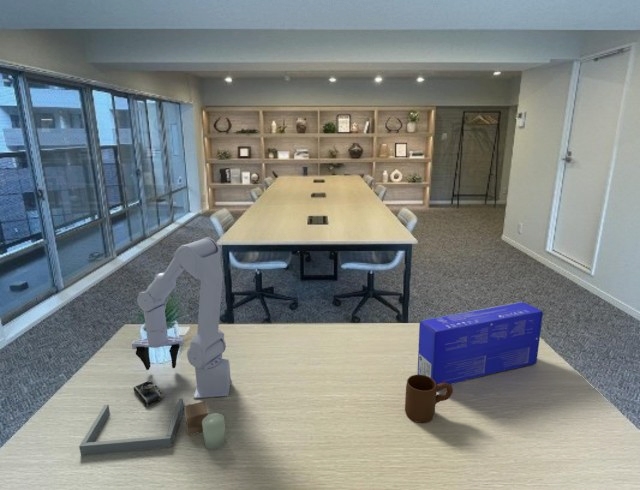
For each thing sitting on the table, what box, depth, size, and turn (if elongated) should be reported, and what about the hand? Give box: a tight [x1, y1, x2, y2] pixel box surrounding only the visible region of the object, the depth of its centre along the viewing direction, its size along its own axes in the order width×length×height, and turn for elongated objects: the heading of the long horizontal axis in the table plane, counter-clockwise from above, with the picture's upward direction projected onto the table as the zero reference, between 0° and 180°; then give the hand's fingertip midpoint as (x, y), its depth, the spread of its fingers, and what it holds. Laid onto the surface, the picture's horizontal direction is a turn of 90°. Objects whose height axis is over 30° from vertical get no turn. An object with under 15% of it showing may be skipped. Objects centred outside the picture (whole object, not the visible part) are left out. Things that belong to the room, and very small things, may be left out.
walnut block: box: [184, 400, 209, 436], centre depth 100 cm, size 5×5×5 cm
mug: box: [404, 374, 454, 424], centre depth 103 cm, size 12×8×9 cm, turn 91°
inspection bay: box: [78, 398, 185, 456], centre depth 99 cm, size 20×14×2 cm
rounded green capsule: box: [202, 413, 227, 451], centre depth 95 cm, size 5×5×6 cm
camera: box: [133, 380, 164, 407], centre depth 112 cm, size 5×10×4 cm, turn 42°
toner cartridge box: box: [417, 301, 544, 385], centre depth 122 cm, size 39×8×18 cm, turn 109°
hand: (161, 367), depth 123 cm, fingers open, 7 cm apart
